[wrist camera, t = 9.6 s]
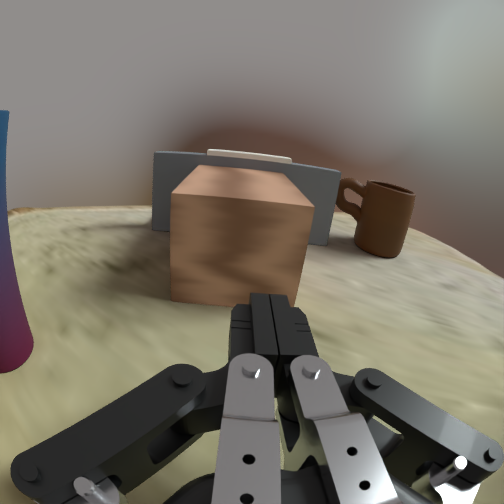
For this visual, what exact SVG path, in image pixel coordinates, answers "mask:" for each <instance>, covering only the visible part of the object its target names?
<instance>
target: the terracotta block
mask: <svg viewBox="0 0 504 504" xmlns="http://www.w3.org/2000/svg"><path fill="white" fill-rule="evenodd" d="M314 209H315V207H314V205H313V204H312V203H311V202H310V201H309V200H308V199H307V198H306V197H305V196H304V195H303V194H302V192H301V191H300V190H299V189H298V188H297V187H296V186H295V185H294V184H293V183H292V182H291V181H290V180H289V179H288V178H287V177H286V176H285V175H284V174H283V173H278V172H270V171H262V170H253V169H243V168H233V167H221V166H209V165H198V166H197V167H196V168H195V169H194V170H193V171H192V172H191V173H190V174H189V175H188V176H187V177H186V178H185V179H184V180H183V181H182V182H181V183H180V184H179V185H178V186H177V188H176V189H175V190H174V191H173V192H172V193H171V213H170V280H171V301H175V302H184V303H194V304H205V305H216V306H229V307H235V306H236V304H248V303H249V296H250V292H252V293H265V294H268V295H269V294H281V295H287V297H288V300H289V304H290V307H294V304H295V300H296V295H297V291H298V287H299V282H300V278H301V273H302V269H303V264H304V259H305V255H306V250H307V245H308V240H309V235H310V230H311V225H312V220H313V215H314Z"/></svg>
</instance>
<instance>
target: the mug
mask: <svg viewBox="0 0 504 504" xmlns="http://www.w3.org/2000/svg"><path fill="white" fill-rule="evenodd" d="M346 188H350V189H351V190H353V191H354V192H356V193H357V194H359V195H360V196H361V197H362V198H363V200H362V205H361V208H360V207H359V206H358V205H356V204H354V203H350V202H348V201H347V200H346V199H345V197H344V189H346ZM414 200H415V193H413V192H411V191H409V190H407V189H404V188H402V187H399V186H396V185H392V184H389V183H385V182H381V181H376V180H368V181H367V185H366V186H364V185H363V184H361V183H360V182H359V181H357V180H356V179H353V178H345V179H341V180H340V183H339V188H338V193H337V199H336V205H337V207H338V208H339V209H340V210H342V211H343V212H345V213H348V214H350V215H352V217H353V218H354V219H355V220H356V221H357V226H356V230H355V235H354V241H355V243H356V245H357V246H358V247H360V248H361V249H363V250H364V251H366V252H368V253H371V254H374V255H377V256H381V257H389V258H390V257H395V256H397V255H399V253H400V252H401V249H402V246H403V243H404V240H405V236H406V233H407V230H408V226H409V223H410V219H411V215H412V211H413V207H414Z"/></svg>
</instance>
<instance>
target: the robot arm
mask: <svg viewBox="0 0 504 504" xmlns="http://www.w3.org/2000/svg"><path fill="white" fill-rule="evenodd" d="M274 398H277V402H278V406H277V409H276V412H275V413H274ZM275 415H276V420H275ZM374 415H375V416H377V417H378V418H380V419H381V420H383V421H384V422H386V423H387V424H389V425H390V426H392V427H393V428H395V429H396V430H398V431H399V432H401V433H402V434H396V433H394V432H393V431H391V430H390V429H388V428H387V427H385V426H384V425H382V424H381V423H379V422H378V421H376V420H375V419H373V418H372V417H373V416H374ZM219 429H220V437H219V445H218V453H217V461H216V470H215V473H211V474H207V475H204V476H201V477H199V478H196V479H194V480H192V481H190V482H189V483H187V484H186V485H184V486H183V487H181V488H180V489H179V490H178V491H177V492H176V493H174V494H173V495H172V496H171V497H170V498H169V499H167V500H166V501H165V502H164V503H163V504H472V502H473V500H474V498H475V495H476V493H477V491H478V488H479V486H480V483H481V482H482V481H483V480H485V479H486V478H487V477H489V476H490V475H491V474H493V473H494V472H495V471H497V470H498V469H499V468H500V467H501V466H502V464H503V460H504V453H503V450H502V448H501V446H500V445H499V444H498V443H497V442H496V441H494V440H493V439H491V438H489V437H487V436H486V435H484V434H482V433H480V432H479V431H477V430H475V429H474V428H472V427H470V426H469V425H467V424H465V423H463V422H462V421H460V420H458V419H457V418H455V417H453V416H452V415H450V414H448V413H447V412H445V411H444V410H442V409H440V408H439V407H437V406H435V405H434V404H432V403H431V402H429V401H427V400H426V399H424V398H422V397H421V396H419V395H418V394H416V393H414V392H413V391H411V390H410V389H408V388H406V387H405V386H403V385H402V384H400V383H399V382H397V381H395V380H394V379H392V378H391V377H389V376H388V375H386V374H384V373H383V372H381V371H379V370H377V369H372V368H365V369H362V370H360V371H359V372H357V374H356V375H355V377H353V376H348V375H343V374H339V373H335V372H333V371H332V370H331V368H330V366H329V365H328V363H327V362H325V361H324V360H323V359H321V358H319V355H318V352H317V349H316V346H315V343H314V339H313V336H312V333H311V330H310V327H309V325H308V321H307V318H306V315H305V314H304V313H303V312H302V311H301V310H300V309H299V307H290V304H289V300H288V297H287V295H281V294H269V295H268V294H265V293H252V292H250V296H249V303H248V304H236V306H235V307H234V308H233V310H232V312H231V322H230V332H229V350H228V363H227V364H226V365H225V366H224V367H223V368H221V369H219V370H216V371H213V372H207V373H202V371H201V370H199V369H198V368H196V367H194V366H192V365H189V364H175V365H172V366H169V367H167V368H166V369H164V370H163V371H161V372H160V373H158V374H157V375H155V376H153V377H152V378H150V379H149V380H147V381H146V382H144V383H142V384H141V385H139V386H138V387H136V388H134V389H133V390H131V391H130V392H128V393H126V394H125V395H123V396H121V397H120V398H118V399H117V400H115V401H113V402H112V403H110V404H108V405H107V406H105V407H103V408H102V409H100V410H98V411H97V412H95V413H93V414H91V415H90V416H88V417H86V418H85V419H83V420H81V421H79V422H78V423H76V424H74V425H72V426H71V427H69V428H67V429H65V430H63V431H62V432H60V433H58V434H56V435H54V436H52V437H51V438H49V439H47V440H45V441H43V442H41V443H39V444H38V445H36V446H34V447H32V448H30V449H28V450H26V451H24V452H22V453H20V454H19V455H17V456H16V457H15V458H14V460H13V462H12V464H11V477H12V480H13V482H14V484H15V486H16V487H17V488H18V489H19V490H20V491H21V492H22V493H23V494H25V495H26V496H28V497H30V498H31V499H33V500H34V501H35V502H36V503H38V504H129V503H128V500H127V498H126V497H125V494H127V493H128V492H130V491H131V490H133V489H134V488H136V487H137V486H138V485H140V484H141V483H143V482H144V481H145V480H147V479H148V478H150V477H151V476H152V475H154V474H155V473H156V472H158V471H159V470H160V469H162V468H163V467H164V466H166V465H167V464H168V463H169V462H171V461H172V460H173V459H175V458H176V457H177V456H178V455H180V454H181V453H182V452H183V451H184V450H186V449H187V448H188V447H189V446H191V445H192V444H193V443H194V442H195V441H197V440H198V439H199V438H200V437H201V436H202V435H203V434H204V433H205V432H210V431H214V430H219ZM279 434H280V435H279ZM280 439H281V443H282V448H283V452H284V470H282V469H280ZM404 483H405V484H404ZM407 485H408V486H407ZM410 487H411V488H410Z"/></svg>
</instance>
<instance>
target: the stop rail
mask: <svg viewBox="0 0 504 504" xmlns="http://www.w3.org/2000/svg"><path fill="white" fill-rule="evenodd" d="M291 162H292V159H290V158H288V157H281V156H273V155H265V154H256V153H248V152H237V151H228V150H215V149H209V150H208V151H207V154H205V153H191V152H170V151H158V152H154V164H153V192H152V195H153V196H152V230H159V231H170V213H171V193H172V192H173V191H174V190H175V189H176V188H177V186H178V185H179V184H180V183H181V182H182V181H183V180H184V179H185V178H186V177H187V176H188V175H189V174H190V173H191V172H192V171H193V170H194V169H195V168H196V167H197V166H198V165H209V166H221V167H233V168H243V169H253V170H262V171H270V172H278V173H283V174H284V175H285V176H286V177H287V178H288V179H289V180H290V181H291V182H292V183H293V184H294V185H295V186H296V187H297V188H298V189H299V190H300V191H301V192H302V194H303V195H304V196H305V197H306V198H307V199H308V200H309V201H310V202H311V203H312V204H313V205H314V207H315V209H314V215H313V220H312V225H311V230H310V235H309V240H308V244H314V245H324V246H326V245H327V241H328V236H329V232H330V227H331V223H332V218H333V213H334V208H335V204H336V199H337V193H338V188H339V183H340V178H341V172H339V171H337V170H333V169H328V168H322V167H316V166H310V165H304V164H297V163H291Z"/></svg>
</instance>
